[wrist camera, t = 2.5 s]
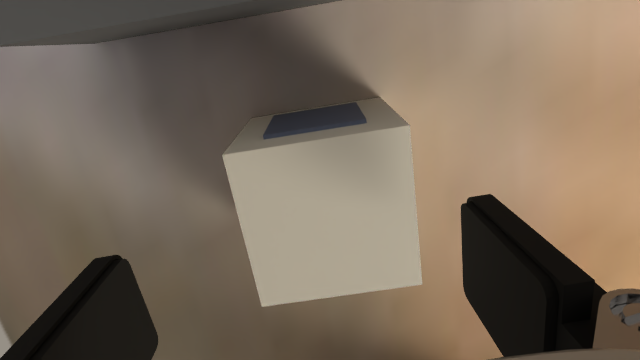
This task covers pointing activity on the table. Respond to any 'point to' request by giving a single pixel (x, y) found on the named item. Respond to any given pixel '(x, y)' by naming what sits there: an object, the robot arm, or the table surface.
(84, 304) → the robot arm
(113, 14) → the long grey slat
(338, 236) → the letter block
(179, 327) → the table surface
